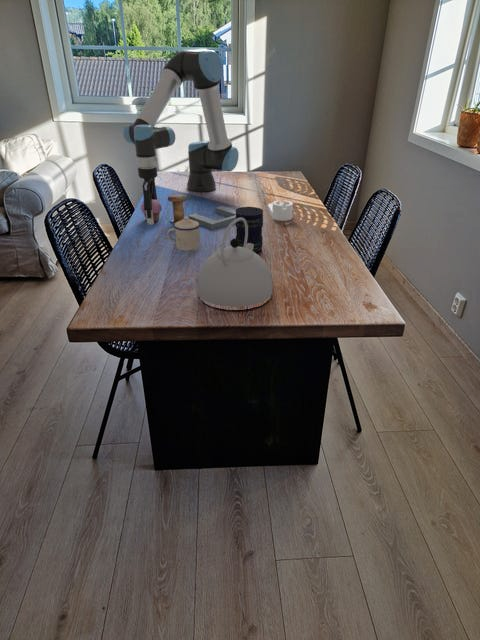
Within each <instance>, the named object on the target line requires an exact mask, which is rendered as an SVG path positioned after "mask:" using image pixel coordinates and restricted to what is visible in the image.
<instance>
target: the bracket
mask: <svg viewBox="0 0 480 640" xmlns="http://www.w3.org/2000/svg"><path fill="white" fill-rule="evenodd" d="M293 205H294V203H293V202H292V200H291V201H290V200H286V199H284V200H282V202H281V201H280V200H279V199H278V200H274V201H273V202H271V203H270V202H269V203H268V204H267V210H268V213H269V214H270V216H271V218H272V219H273V220H275V221H279V222H280V221H281V222H286V221H291V220H292V219H293V207H294V206H293Z"/></svg>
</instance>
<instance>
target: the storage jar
mask: <svg viewBox="0 0 480 640" xmlns="http://www.w3.org/2000/svg"><path fill="white" fill-rule="evenodd" d="M235 210H236V218H235V219H237V218H240V217H241V218H244V219H245V220H246V222H247V225H248V238H247V243H251V244H254V247H253V252H255V253H256V254H257V255H260V254H262V252H263V249H262V248H263V243H264V242H263V241H264V239H263V228H264V209H262V208H260V207H255V206H242V207H238V208H236V209H235ZM234 225H235V227H236V228H235V229H236V236H235V238H236V239H238V240H239V247H243V246H244V240H245V224H244V222H243V221H242V220H240V221H238V222H236V223H235V224H234Z"/></svg>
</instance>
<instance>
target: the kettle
mask: <svg viewBox="0 0 480 640" xmlns="http://www.w3.org/2000/svg"><path fill="white" fill-rule="evenodd" d="M240 220H242V221H243V222H244V224H245V240H244V246H243V247H239V240H238V239H236V237H234V238H232V239H231V240H230V243H229V245H230V246H227V247H225V245H226V239H227V237H228V234H229V232H230V230H231V228H232V227H233V225H235V224H236V222H238V221H240ZM247 238H248V225H247V222H246V220H245V219H244V218H241V217H240V218H237V219H235V220H234V221H233V222H231V223H230V224H229V225H227V227H226V229H225V232H224V234H223V236H222V241H221V247H220V249H218V250H217V251H215V252H214V253H212V254H211V255H210V256H209V257H208V258H207V259H206V260H205V261H204V263H203V265H202V266H201V268H200V270H199V274H198V278H197V295H198V294H199V296H200V297H201V298H202V299H204V300H205V301H207V302H209V303H212V304H215V305H220V306H230V307H240V306H241V307H242V306H250V305H255V304H258V303H261V302H263V301H265V300H266V299H268V298H269V297H270V296H271V294H272V295H273V278H272V274H271V271H270V269H269V267H268V265H267V263H266V261H265V260H264V259H263V258H262V257H261V256H260V254H258V255H257V254H256V253H255V252H253V247H254V244H251V243H247Z"/></svg>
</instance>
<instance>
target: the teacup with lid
mask: <svg viewBox="0 0 480 640" xmlns="http://www.w3.org/2000/svg"><path fill="white" fill-rule="evenodd" d="M173 226H174V228H173V227H172V228H170V229H168V230H167V232H166V236H167V238H168V239H169V240H170V242H174V243H176V249H177V248H179V249H182V250H194V251H196V250H195V249H197V250H199V249H200V248H201V247H200V246H201V245H200V244H201V243H200V242H201V241H200V240H201V239H200V224H199V223H198V222H197V221H194V220H191V219H189V217H188V215H187V216H184V219H183V220H181V221H178V222H176V223H175V224H173ZM170 232H175V238H172V237H171V236H170ZM198 248H199V249H198ZM179 249H178V250H179Z"/></svg>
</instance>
